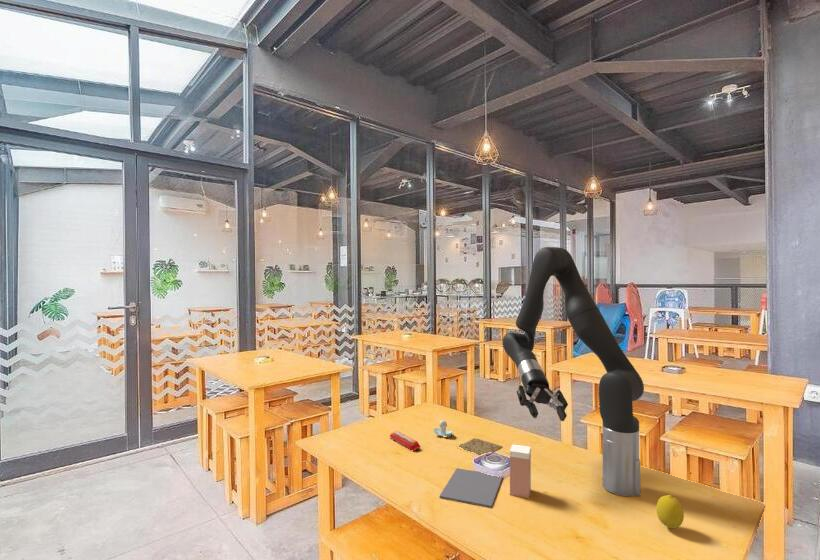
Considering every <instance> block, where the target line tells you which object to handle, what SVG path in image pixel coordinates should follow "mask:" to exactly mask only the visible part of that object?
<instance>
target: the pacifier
mask: <svg viewBox="0 0 820 560" xmlns="http://www.w3.org/2000/svg"><path fill="white" fill-rule="evenodd" d="M438 424H439V427H440V428H438V427H437V428H436V427H435V428H433V432H434V434H436V435H437V436H439V435H440V436H448V437H452V436H454V432H453V431H454V430H447V426H448V423H447V422H446V421H445V420H444V419H440V421H439V423H438ZM451 435H452V436H451ZM440 436H439V437H440Z"/></svg>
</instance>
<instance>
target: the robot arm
mask: <svg viewBox="0 0 820 560" xmlns="http://www.w3.org/2000/svg"><path fill="white" fill-rule="evenodd" d="M553 276H554V277H555V278H556V280H557V282H558V284H559V285H560V287H561V289H562V292H563V295H564V305H565V313H566V317H567V320H568V322H569V323H570V325H571V327H572V330H573V331H574V333H575V334H576V336H577V338H578V339H579V340H580V341H581V342H582V343H583V344H584V345H585V346H586V347H587V348H588V349H590V350H591V352H593V353H594V354H595V355H596V357H597V358H598V359H599V360H600V362H601V363H602V366H603V368H604V369H605V371H606V373H604V374H603V375H602V376H601V377H600V380H599V383H598V384H599V385H598V404H599V407H598V408H599V414H600V418H601V419H602V420H601V421H602V478H601V479H602V487H603V488H604V490H605V491H607V492H609V493H612V494H614V495H617V496H622V497H634V496H637V497H641V459H640V421H639V419H638V418H637V417H636V416H634V412H633V411H634V410H633V407H634V406H633V402H635V401H637V400H639V399H641V398H642V397H643V395H644V391H645V385H644V382H643V379H642V377H641V376H640V373H639V372H638V371H637V369H636V368H635V367H634V365H633V364H632V363H631V361H630V360H629V358H628V356H626V354H625V353H624V351H623V350H622V348H621V347H620V345H619V343H618V341H617V339H616V338H615V336H614V334H613V332H612V330H611V329H610V327H609V325H608V324H607V321H606V319H605V318H604V315H602V313H601V310H600V308H598V306H597V304H596V303H595V301H594V298H593V297H592V296H591V293H590V292H589V290H588V288H587V287H586V285H585V283H584V281H583V279H582V277H581V275H580V272H579V270H578V268H577V265H576V262H575V261H574V258H573V257H572V255H571V253H570V252H569V251H568V249H565V248H564V247H559V246H557V247H555V246H546V247H545V246H544V247H541V248H540V249H538V250H537V252H536V253H535V255H534V257H533V261H532V265H531V271H530V275H529V279H528V285H527V288H526V292H525V296H524V300H523V302H522V305H521V308H520V310H519V312H518V315H517V318H516V320H515V326H516V327H517V329H518V330H520V331H523V333H519V332H514V331H511V332H507V333H505V334H504V336H503V337H502V348H503V350H504V352H505V353H506V354H507V356H508V357H510V359H511V360H512V361H513V362H514V364H515V367H516V369H517V372H518V377H519V379H520V381H521V384H520V385H519V386H518V388H517V390H516V395H517V397H518V401H519V405H520V406H523V407H524V406H525V407H526V408H527V409H528V411H529V413H530V415H531V416H532V418H533V419H537V418H538V415H539V412H538V408H537V406H536V404H543V405H547V406H548V407H549V408H551V409H552V408H553V409H554V410H555V411H556V414H557V417H558V418H559V420H560V422H565V420H566V418H567V415H568V414H567V413H566V408H567V407H568V406H569V404H568V400H566V398H565V396H564V394H563V392H562V391H561V390H560V389H558V390H557V391H552V389H551V388H550V383H549V381H548V378H547V376H546V374H545V373H544V370H543V368H542V366H541V364H540V363H539V361H538V359H537V357H536V355H535V353H534V352H533V350H534V346H535V340H536V337H535V336H536V331H537V327H538V324H539V322H540V320H541V317H542V315H543V312H544V307H545V306H544V305H545V304H544V293H545V289H546V285H547V283H549V280H550V278H551V277H553ZM527 396H528V397H529V399H528V398H527ZM550 401H551V402H550ZM534 402H535V403H536V404H535V403H534Z"/></svg>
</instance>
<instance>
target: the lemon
mask: <svg viewBox="0 0 820 560" xmlns="http://www.w3.org/2000/svg"><path fill="white" fill-rule="evenodd" d="M682 505H683V504H682V503H681V502H680V501H679V500H678V498H676V497H674V496H672V494H668V495H667V494H666V495H662V496H661V497H660V498H659V499H658V500H657V503H656V508H655V509H656V515H657V518H658V520H659V521H660V523H662V525H664V527H665V526H666V527H667V528H668V529H669V530H672V529H676V528H679V527H680V526H681V525H682V524H683V522H684V517H685V515H684V514H685V513H684V509H683V506H682Z"/></svg>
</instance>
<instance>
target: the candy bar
mask: <svg viewBox="0 0 820 560" xmlns="http://www.w3.org/2000/svg"><path fill="white" fill-rule="evenodd" d="M389 437H390V439H391V440H392V439H393V440H392V441H394V440H395V441H396V443H397V442H398V443H397V444H399V443H400V444H401V446H402V445H403V446H402V447H404V446H405V447H404V448H405V449H407V448H408V450H409V449H410V450H409V451H411V450H414V451H413V452H415V451H416V450H418V449H420V448H421V445H420V443H419V442H418V441H417V440H415V439H414V438H412V437H410V436H408V435H407V434H405V433H402V432H401V431H398V430H395V431H394V432H391V433H390V435H389ZM395 441H394V442H395ZM400 444H399V445H400Z"/></svg>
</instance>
